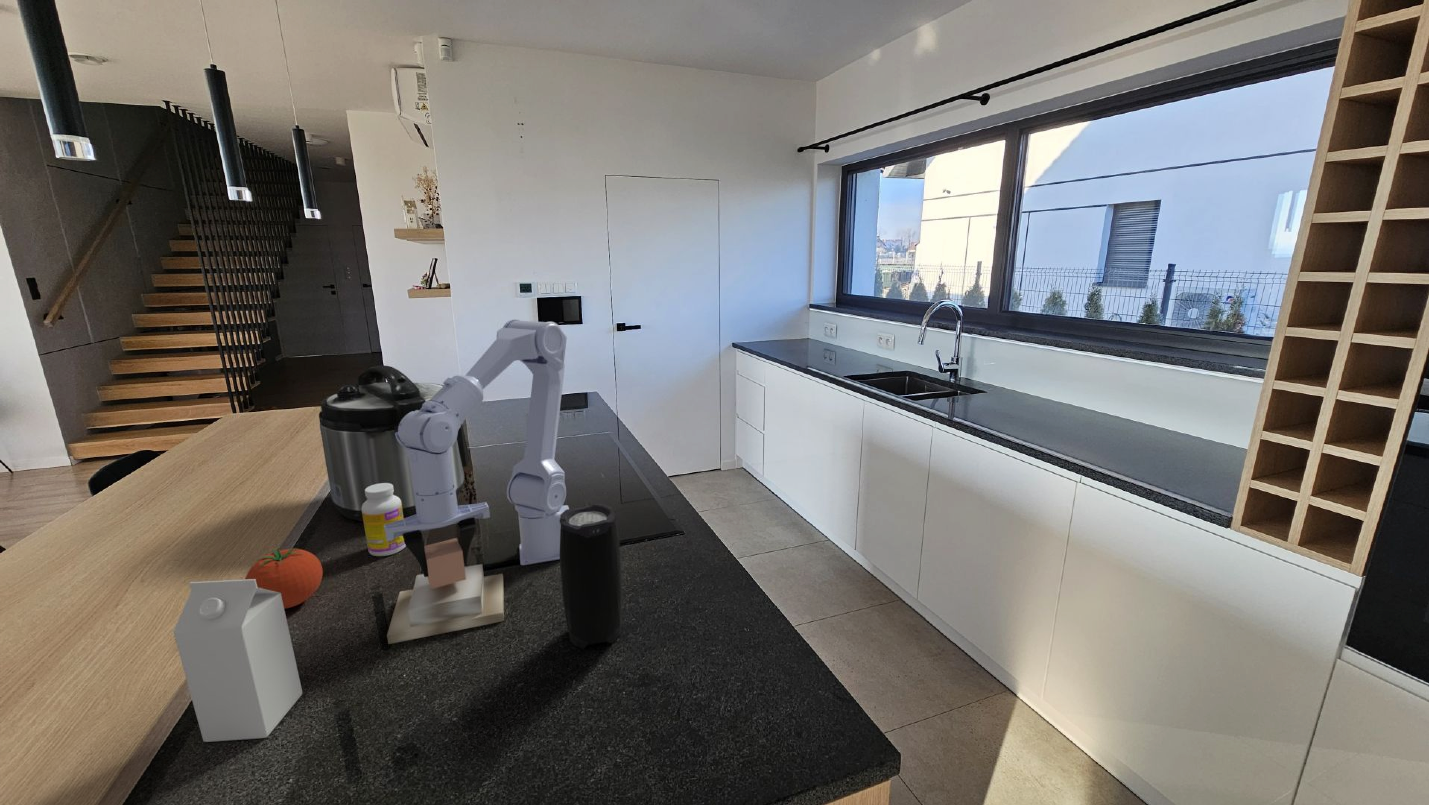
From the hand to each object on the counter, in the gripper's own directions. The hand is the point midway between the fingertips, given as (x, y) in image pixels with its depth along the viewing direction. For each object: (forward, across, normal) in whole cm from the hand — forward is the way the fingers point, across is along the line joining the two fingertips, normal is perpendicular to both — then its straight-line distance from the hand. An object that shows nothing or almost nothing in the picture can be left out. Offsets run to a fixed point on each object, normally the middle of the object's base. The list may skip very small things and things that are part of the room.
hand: (445, 568), depth 91 cm
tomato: (+8, +22, -16) cm, 28 cm away
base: (+7, 0, 0) cm, 7 cm away
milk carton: (+8, +24, +11) cm, 28 cm away
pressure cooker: (+8, +1, -53) cm, 53 cm away
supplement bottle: (+8, +7, -28) cm, 30 cm away
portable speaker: (+8, -17, +18) cm, 26 cm away
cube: (+2, 0, 0) cm, 2 cm away
